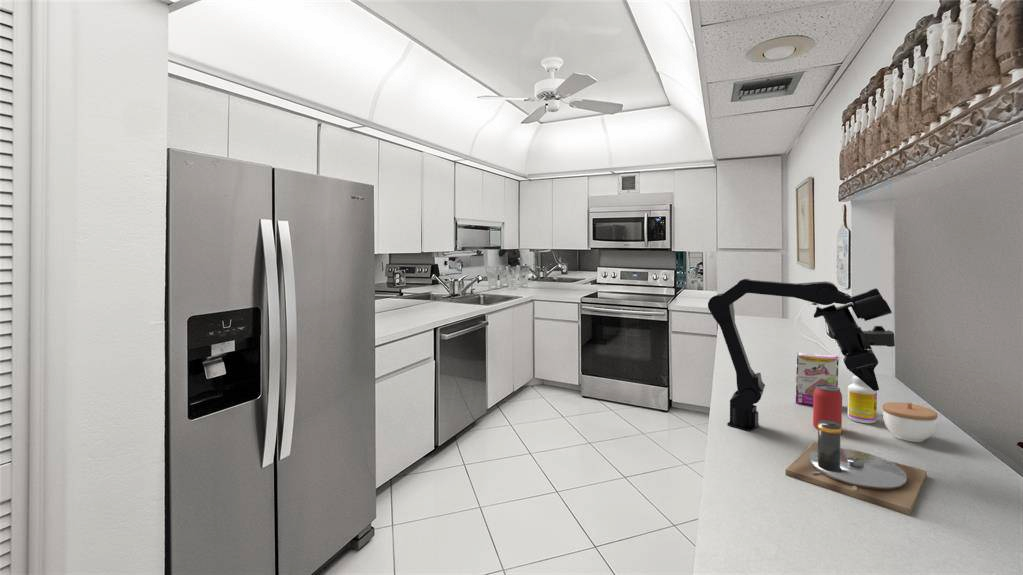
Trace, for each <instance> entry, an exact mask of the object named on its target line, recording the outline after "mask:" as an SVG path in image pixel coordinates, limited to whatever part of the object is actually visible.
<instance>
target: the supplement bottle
mask: <svg viewBox="0 0 1023 575" xmlns="http://www.w3.org/2000/svg"><path fill="white" fill-rule="evenodd" d="M851 380H852V383H851V384H849V385H848V386H847V418H848V419H850V421H853V422H856V423H861V424H862V423H863V424H875V423H876V422H877V412H878V407H877V406H878V390H877V391H873V390H872V389H871V388H870V387H869V386H868V385H866V384H865V383H864V382H863V381H862V380H860V379H859V378H858V377H857V376H856V375H854V374H853V375H852V377H851Z"/></svg>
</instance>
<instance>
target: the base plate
mask: <svg viewBox="0 0 1023 575" xmlns="http://www.w3.org/2000/svg"><path fill="white" fill-rule="evenodd" d="M816 449H818V441H814V442H813V443H812V444H811V445H809V447H807V448H806V449H805V450H804V451H803V452H802V453H801V454H800V455H799V456H798V457H797V458H796V459H795V460H794V461H793V462H792V463H791V464H790V465H789V466H788V467H787V468H785V476H789V477H792V478H795V479H797V480H801V481H803V482H807V483H810V484H813V485H816V486H820V487H822V488H825V489H828V490H831V491H834V492H838V493H840V494H844V495H846V496H850V497H853V498H856V499H858V500H862V501H864V502H868V503H871V504H874V505H878V506H879V507H884V508H887V509H889V510H892V511H896V512H898V511H899V512H898V513H902V514H905V515H909V516H911V514H912V512H913V509H914V507H915V505H916V502H917V500H918V498H919V495H920V493H921V491H922V488H923V486H924V484H925V482H926V479H927V477H928V471H927V470H924V469H920V468H916V467H913V466H909V465H906V464H901V463H898V462H894V461H890V460H889V461H890V462H891V463H893V464H895V465H897V466H898V467H900V468H901V469H902V470H903V471H904V472H905V473H906V475H907V484H906V485H905V486H904V487H903V488H901V489H897V490H887V491H886V490H871V489H865V488H860V487H857V486H851V485H848V484H844V483H841V482H839V481H836V480H833V479H831V478H829V477H827V476H825V475H823V474H821V473H820V472H818V471H816V470H815V469H814V468H813V467H812V466H811V464H810V462H809V454H810V453H811V452H812V451H814V450H816Z"/></svg>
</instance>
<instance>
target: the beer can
mask: <svg viewBox="0 0 1023 575" xmlns="http://www.w3.org/2000/svg"><path fill="white" fill-rule="evenodd" d="M842 394H843V393H842V392H841V388H840V387H839V386H838V387H836V386H832V385H825V384H819V385H816V388H815V390H814V393H813V405H812V409H813V410H812V411H813V412H812V425H813V426H814V428H815V429H817V430H818V421H820V420H829V421H834V422H837V423H839V424H840V425H841V431H842V429H843V426H842V425H843V395H842Z"/></svg>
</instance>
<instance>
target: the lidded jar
mask: <svg viewBox="0 0 1023 575" xmlns="http://www.w3.org/2000/svg"><path fill="white" fill-rule="evenodd" d="M882 417H883V423H884V426H885V427H886V428H887V429H888V430H889V432H891V434H892V435H893V437H895V438H897V439H900V440H903V441H907V442H913V443H921V442H924V441H925V440H927V439H929V438H930V437H931V436H932V435H933V434H934V432H935V431H936V427H937V423H938V422H937V418H938V412H936V410H934V409H931V408H929V407H926V406H922V405H918V404H913V403H912V402H908V401H907V402H896V401H893V402H892V401H891V402H890V401H889V402H885V403H883V404H882Z"/></svg>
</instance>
